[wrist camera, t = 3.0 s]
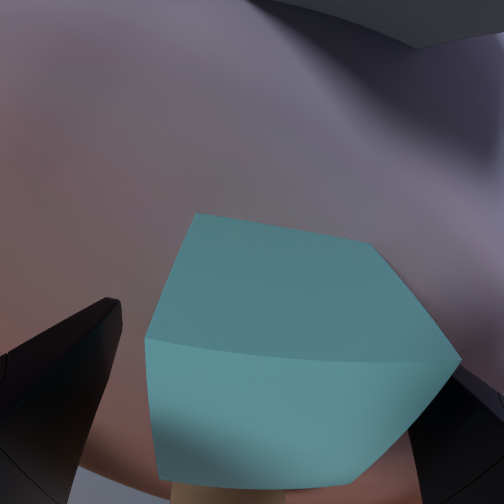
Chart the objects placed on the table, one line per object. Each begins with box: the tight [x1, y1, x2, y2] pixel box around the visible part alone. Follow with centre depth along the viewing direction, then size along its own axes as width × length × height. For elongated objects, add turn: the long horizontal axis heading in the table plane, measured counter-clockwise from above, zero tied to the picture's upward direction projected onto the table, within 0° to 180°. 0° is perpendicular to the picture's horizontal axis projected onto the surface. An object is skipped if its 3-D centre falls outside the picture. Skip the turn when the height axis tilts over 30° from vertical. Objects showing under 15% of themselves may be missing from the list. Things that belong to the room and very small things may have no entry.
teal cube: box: [145, 213, 462, 490], centre depth 7 cm, size 5×5×5 cm
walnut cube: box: [170, 482, 286, 504], centre depth 12 cm, size 5×5×5 cm
